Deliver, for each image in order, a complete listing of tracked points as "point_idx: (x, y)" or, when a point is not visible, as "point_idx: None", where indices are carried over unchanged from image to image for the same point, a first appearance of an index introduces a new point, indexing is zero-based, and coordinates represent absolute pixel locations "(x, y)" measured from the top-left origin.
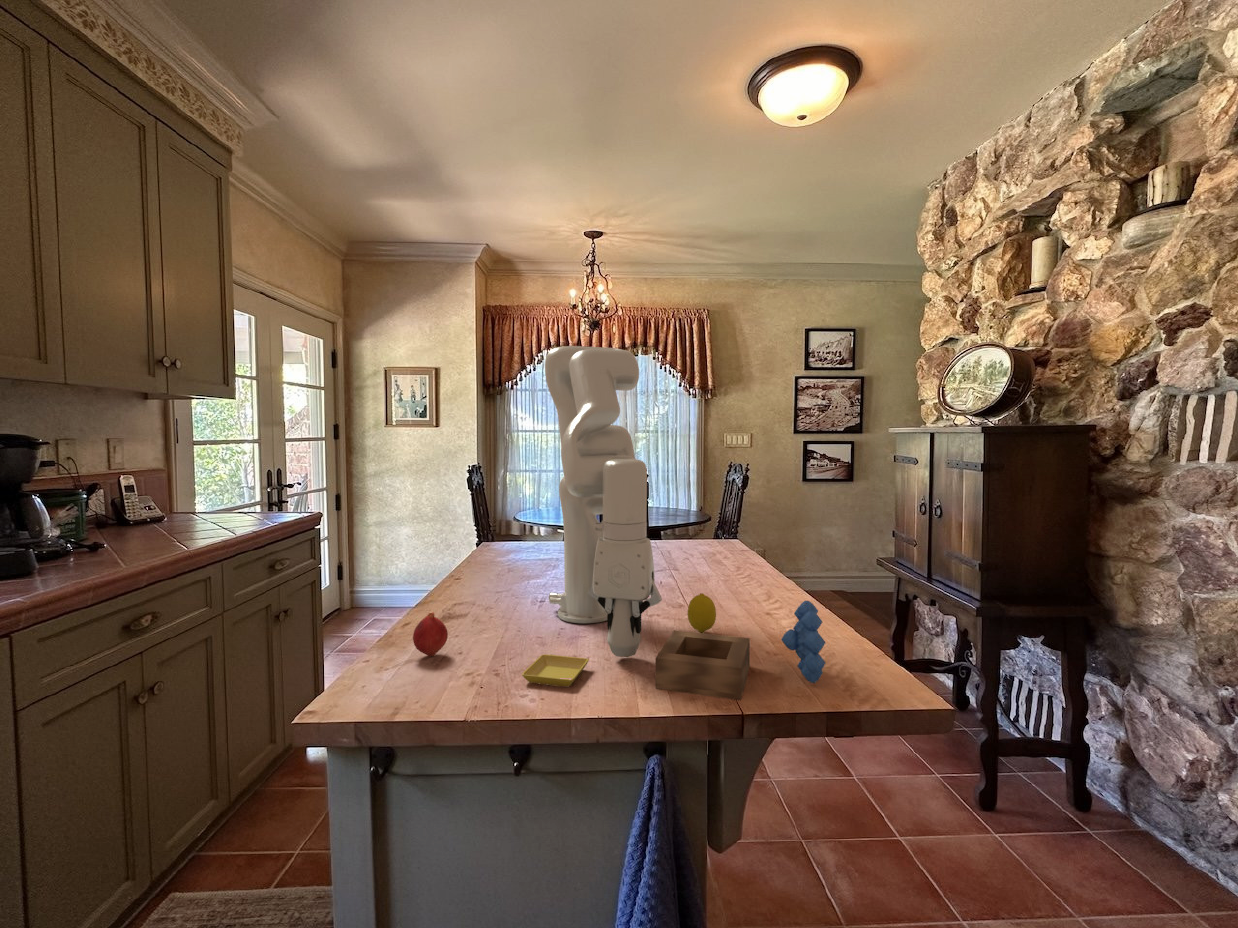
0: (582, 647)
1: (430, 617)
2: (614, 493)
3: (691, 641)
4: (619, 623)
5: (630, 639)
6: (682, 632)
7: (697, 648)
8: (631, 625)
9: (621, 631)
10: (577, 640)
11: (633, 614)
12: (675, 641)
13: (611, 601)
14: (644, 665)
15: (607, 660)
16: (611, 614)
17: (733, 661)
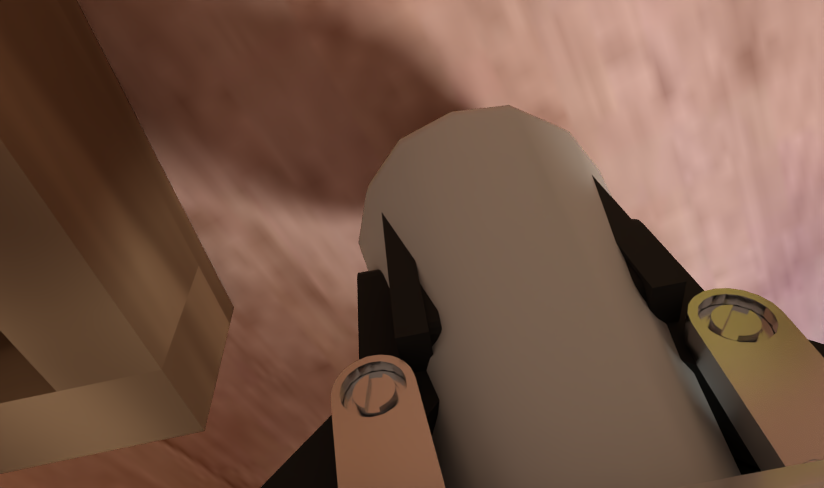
0: (729, 192)
1: None
2: None
3: (25, 375)
4: (527, 232)
5: (394, 186)
6: (132, 429)
7: (10, 351)
8: (409, 274)
9: (480, 186)
10: (771, 250)
11: (406, 371)
12: (32, 296)
13: (774, 430)
14: (309, 151)
15: (541, 108)
16: (666, 295)
17: None
